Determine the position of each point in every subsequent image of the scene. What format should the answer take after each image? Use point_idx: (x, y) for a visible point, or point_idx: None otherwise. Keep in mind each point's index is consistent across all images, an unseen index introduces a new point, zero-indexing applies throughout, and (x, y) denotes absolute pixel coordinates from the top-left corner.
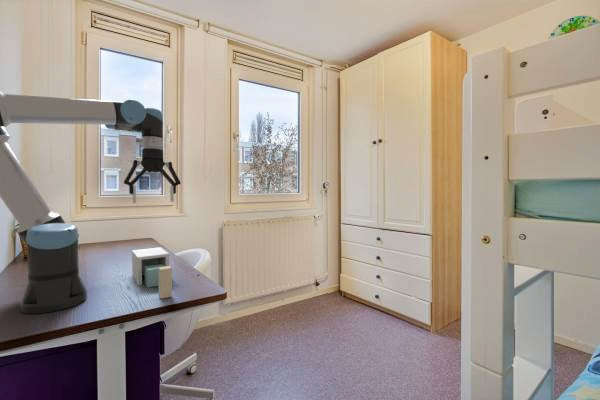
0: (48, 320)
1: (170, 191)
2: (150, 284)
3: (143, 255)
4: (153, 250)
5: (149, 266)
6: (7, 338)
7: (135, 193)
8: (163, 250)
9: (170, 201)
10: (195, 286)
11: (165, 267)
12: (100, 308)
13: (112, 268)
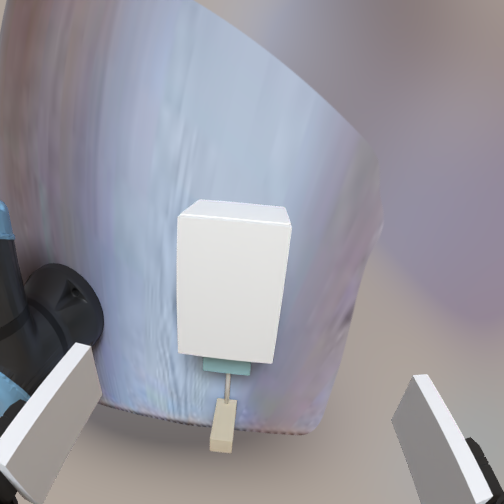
0: None
1: (439, 470)
2: None
3: (197, 339)
4: (246, 279)
5: None
6: None
7: (67, 450)
8: (275, 305)
9: (408, 390)
10: (297, 385)
11: (222, 445)
12: (130, 378)
13: (169, 56)
